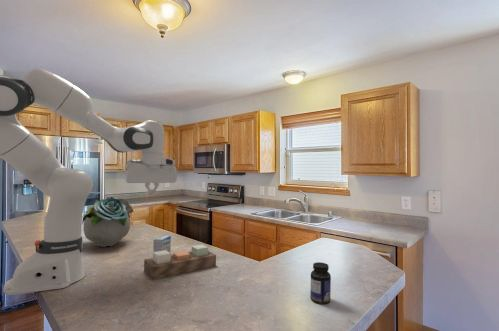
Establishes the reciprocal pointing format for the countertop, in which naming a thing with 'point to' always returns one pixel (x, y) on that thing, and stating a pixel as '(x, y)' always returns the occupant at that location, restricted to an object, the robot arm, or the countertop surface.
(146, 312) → the countertop surface
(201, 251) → the sage key
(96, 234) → the flower arrangement
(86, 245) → the countertop surface
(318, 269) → the pill bottle
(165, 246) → the medicine box
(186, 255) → the terracotta key
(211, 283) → the countertop surface
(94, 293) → the countertop surface
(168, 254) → the cream key
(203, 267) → the key panel
